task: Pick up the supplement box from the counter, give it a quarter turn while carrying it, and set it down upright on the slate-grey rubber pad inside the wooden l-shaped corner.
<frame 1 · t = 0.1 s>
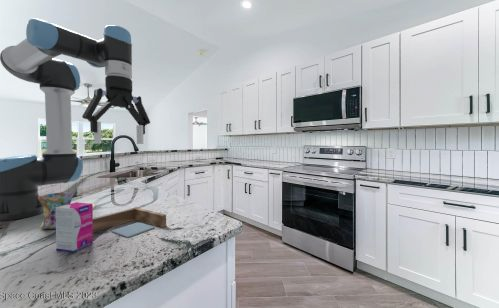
hand: (120, 143, 72), 28 cm above the table, fingers open, 13 cm apart
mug: (56, 225, 76), on the table
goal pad: (133, 230, 72), on the table
wooden l-shaped corner: (123, 230, 71), on the table
supplement box: (75, 247, 60), on the table
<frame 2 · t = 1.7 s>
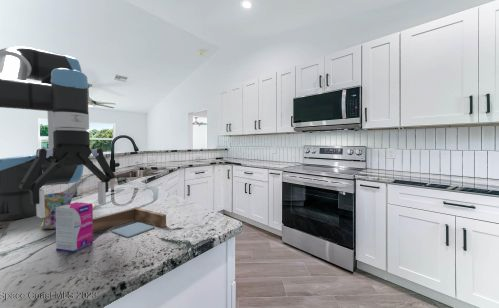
hand: (74, 210, 59), 10 cm above the table, fingers open, 13 cm apart
nothing on the table moved.
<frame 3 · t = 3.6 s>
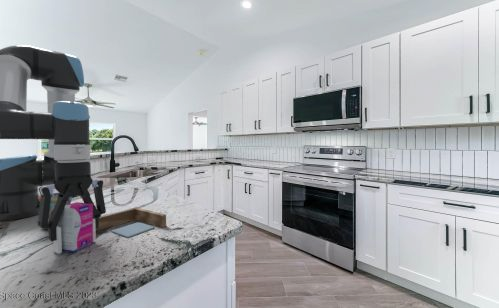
hand: (75, 245, 60), 0 cm above the table, fingers closed on supplement box, 7 cm apart
supplement box: (75, 247, 60), on the table, touching gripper
everything else where it was.
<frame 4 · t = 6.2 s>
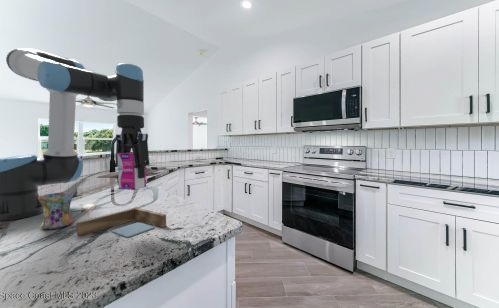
hand: (132, 187, 71), 14 cm above the table, fingers closed on supplement box, 7 cm apart
supplement box: (132, 188, 71), point 13 cm above the table, touching gripper
everything else where it was.
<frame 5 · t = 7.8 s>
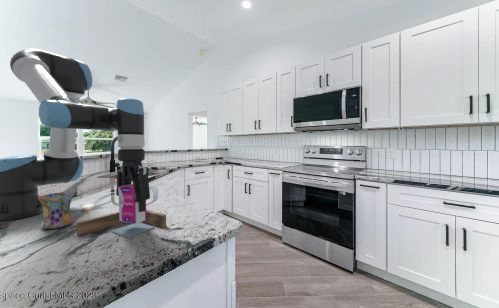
hand: (133, 219, 71), 4 cm above the table, fingers closed on supplement box, 7 cm apart
supplement box: (133, 220, 71), point 3 cm above the table, touching gripper
everything else where it was.
when the fingers open (1 cm above the table, at t = 9.1 s): supplement box stays where it is, resting on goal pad.
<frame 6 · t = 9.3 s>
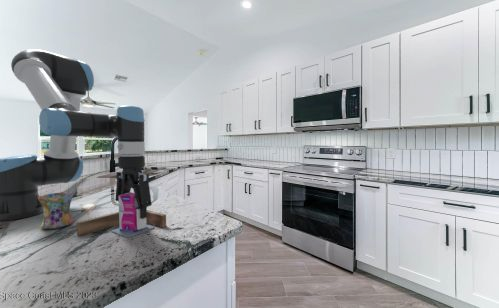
hand: (133, 225, 72), 2 cm above the table, fingers open, 8 cm apart
supplement box: (133, 229, 72), resting on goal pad
everything else where it was.
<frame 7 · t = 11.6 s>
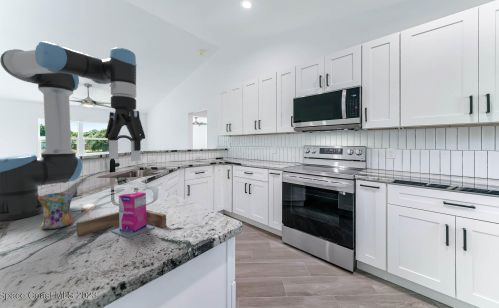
hand: (124, 159, 76), 22 cm above the table, fingers open, 13 cm apart
nothing on the table moved.
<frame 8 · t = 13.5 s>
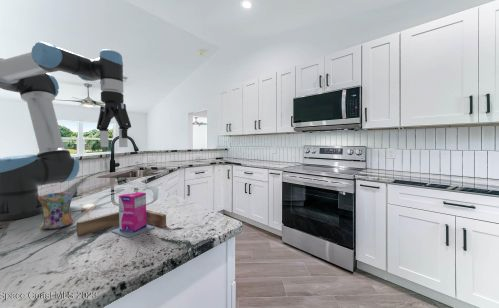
hand: (113, 147, 87), 27 cm above the table, fingers open, 13 cm apart
nothing on the table moved.
at the end: supplement box inside the target area (0.1 cm from its centre), resting on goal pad; supplement box tilted 0°; the gripper is holding nothing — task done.
